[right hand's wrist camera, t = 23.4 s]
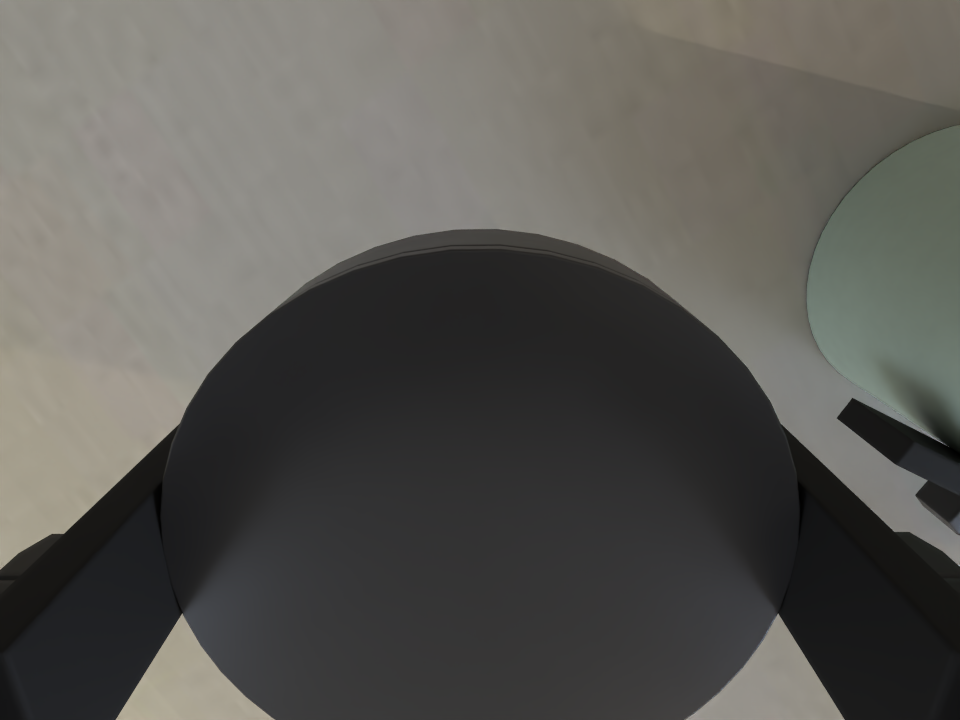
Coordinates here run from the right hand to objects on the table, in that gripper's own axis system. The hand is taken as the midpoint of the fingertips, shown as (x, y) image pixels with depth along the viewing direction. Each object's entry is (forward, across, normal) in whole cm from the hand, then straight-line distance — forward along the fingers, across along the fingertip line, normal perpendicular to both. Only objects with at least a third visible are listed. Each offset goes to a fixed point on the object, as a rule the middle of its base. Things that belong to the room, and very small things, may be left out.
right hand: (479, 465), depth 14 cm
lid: (-3, 0, 0) cm, 3 cm away
